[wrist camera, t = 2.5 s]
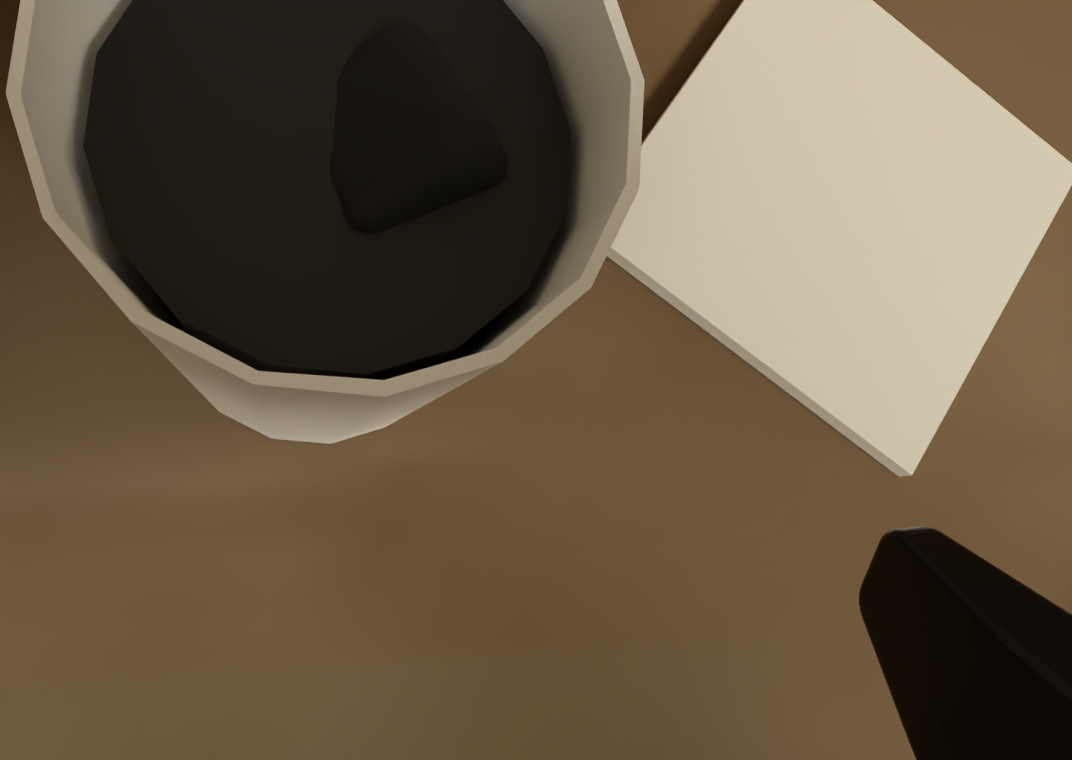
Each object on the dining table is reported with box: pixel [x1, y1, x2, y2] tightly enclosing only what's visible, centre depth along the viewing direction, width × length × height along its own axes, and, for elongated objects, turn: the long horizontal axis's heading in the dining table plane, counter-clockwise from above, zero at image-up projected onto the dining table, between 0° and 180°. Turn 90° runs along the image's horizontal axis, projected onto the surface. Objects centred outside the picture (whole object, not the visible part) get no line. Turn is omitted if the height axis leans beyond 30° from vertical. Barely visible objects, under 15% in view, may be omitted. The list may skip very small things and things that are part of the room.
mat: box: [607, 0, 1072, 477], centre depth 23 cm, size 9×9×1 cm
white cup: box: [6, 0, 644, 444], centre depth 16 cm, size 7×7×10 cm
